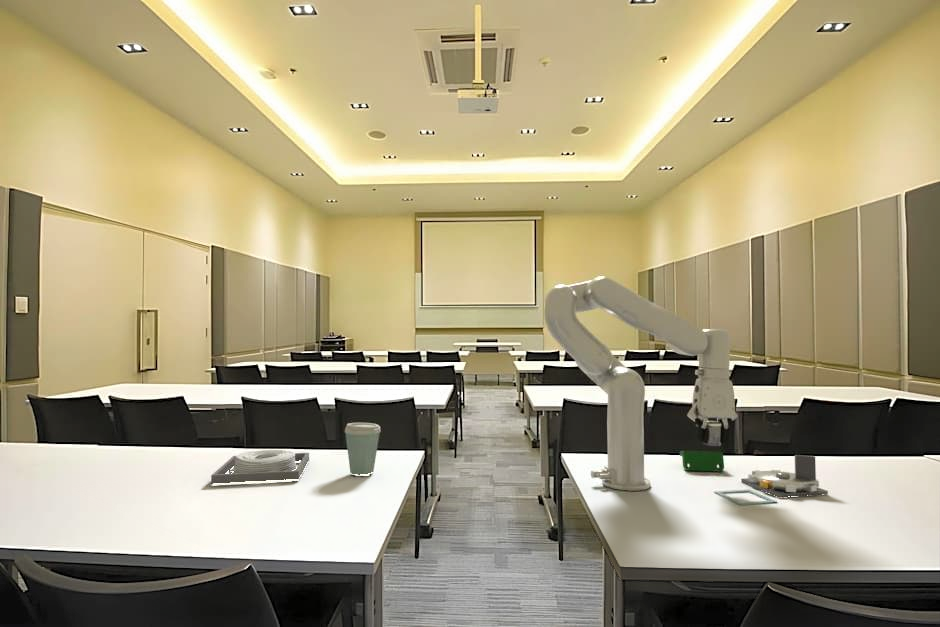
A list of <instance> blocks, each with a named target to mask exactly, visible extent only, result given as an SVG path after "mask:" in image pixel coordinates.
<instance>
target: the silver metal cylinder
mask: <svg viewBox="0 0 940 627" xmlns="http://www.w3.org/2000/svg"><path fill="white" fill-rule="evenodd" d="M706 428H707V429H708V443H707V444H704V443H702V444H703V445H705V446H710V447H720V446H721V445H722V443H721V422H717V420H708V422H707V426H706Z"/></svg>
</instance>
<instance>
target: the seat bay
mask: <svg viewBox="0 0 940 627" xmlns="http://www.w3.org/2000/svg"><path fill="white" fill-rule="evenodd" d="M736 493H737V494H738V493H739V494H740V493H750V494H752V495H754V494H755V495H754V496H756V495H757V497H759V496H760V497H759V498H761V497H762V498H761V499H763V498H765V499H767V500H765V499H764V500H759V501H755V500H754V501H744V502H741V501H739V500H737V499H735V498H733V497H731V496H729V495H726V494H736ZM714 494H717V495H718V496H719V497H720V496H721V497H722V498H725V499H727V500H728V501H730V500H731V502H732V501H733V502H732V503H734V502H735V503H734V504H736V505H739V506H749V505H750V506H751V505H752V506H753V505H763V503H767V504H773V503H772V502H777V503H778V501H777V500H775V499H772V498H770V497H767V496H765V495H764V494H761V493H758V492H756V491H753V490H751V489H733V490H719V491H717V490H716V491H714ZM768 500H769V501H768Z"/></svg>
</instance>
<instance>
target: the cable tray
mask: <svg viewBox="0 0 940 627" xmlns="http://www.w3.org/2000/svg"><path fill="white" fill-rule="evenodd" d="M294 453H295V461H299V460H301V462H300V463H298V465H297V466H296V467H297V469H296V470H294V471H273V472H253V473H232V474H225V473H226V472H227V471H228V470H230V469H231V468H232V467H233V466H234V465H235V458H236V456H237V455H233V456H231V457H230V458H229V459H228V460H227V461H226V462H225V463H224V464H223V465H221V466H220V467H219V468H218V469H217V470H216V471H214V472H213V473H212V474H211V475H210V485H211V484H213V483H230V482H245V481H266V480H284V479H285V480H286V479H299V477H300V475H301V474H302V472H303V470H304V468H305V466H306V464H307V462H308V461H309V462H310V452H294Z"/></svg>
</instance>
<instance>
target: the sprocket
mask: <svg viewBox="0 0 940 627" xmlns="http://www.w3.org/2000/svg"><path fill="white" fill-rule="evenodd" d="M816 473H817V472H816V456H814V455H801V454H795V455H794V472H787V471H781V469H780V470H779V469H778V470H777V469H770V470H758V469H756V470H752V471H751V474H750V473H749V474H748V477H747V478H748V480H749V481H750V482H757V483H758V484H760V486H761V487H764V488H774V489H780V490H785V491H786V492H796V491H805V490H806V491H810V492H813V491H817V488H816V487H818V488H820V481H819V480H818V479H817V474H816Z"/></svg>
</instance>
